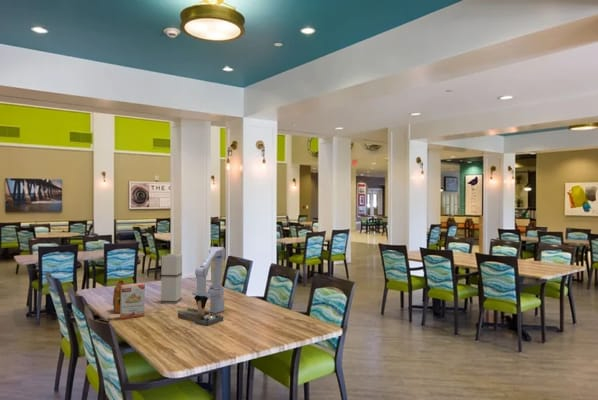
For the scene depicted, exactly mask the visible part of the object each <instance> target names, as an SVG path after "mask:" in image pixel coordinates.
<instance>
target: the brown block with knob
mask: <svg viewBox="0 0 598 400" xmlns="http://www.w3.org/2000/svg"><path fill="white" fill-rule="evenodd" d="M197 309H198V314H200V316H203V315H205V311H206V310H205V309H206V307H205V308H202V307H201V300H200V301H198V306H197Z"/></svg>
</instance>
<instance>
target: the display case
mask: <svg viewBox="0 0 598 400" xmlns="http://www.w3.org/2000/svg"><path fill="white" fill-rule="evenodd" d="M160 276H161V277H160V278H161V279H160V280H161V281H160V282H161V283H160V284H161V287H160V289H161V291H160V292H161V293H160V294H161V295H160V297H161V298H160V303H161V304H166V303H167V305H168V304H171V305H176V304H179V303H180V302H182V301H181V300H182V299H183V298H182V277H183V254H179V253H167V254H166V255H161V275H160Z"/></svg>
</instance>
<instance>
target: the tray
mask: <svg viewBox="0 0 598 400" xmlns="http://www.w3.org/2000/svg"><path fill="white" fill-rule="evenodd" d="M210 315H211V316H213V315H214V316H215V317H216V318H215V319H212V320H209V321H204V320H200V319H195V322H194V323H195V324H197V325H202V326H206V327H208V326H211V325H214V324H217V323H219V322H222V321H223V322H224V316H221V315H218V314H215V313H213V314H212V313H211V314H210Z"/></svg>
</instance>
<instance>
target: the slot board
mask: <svg viewBox="0 0 598 400" xmlns="http://www.w3.org/2000/svg"><path fill="white" fill-rule="evenodd" d="M186 309H187V310H181V309H180V310H177V319H182V320H187V321H191V322H194V323H195V319H200V320H203V316H205V315H209V314H210V312H209V311H208V310H205V315H203V316H200V314H198V308H194V307H187V308H186Z"/></svg>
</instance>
